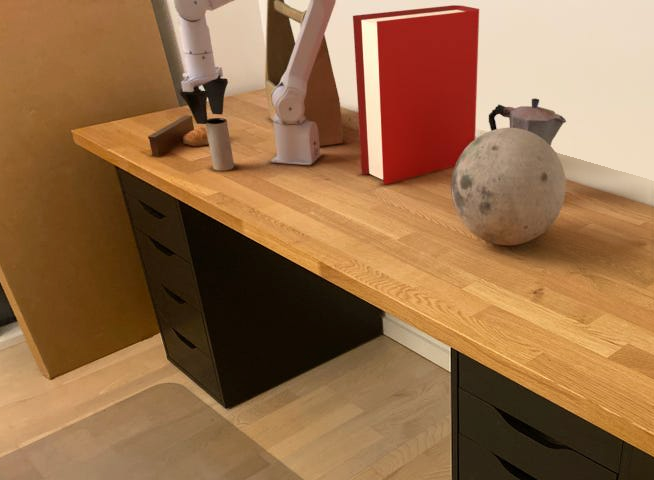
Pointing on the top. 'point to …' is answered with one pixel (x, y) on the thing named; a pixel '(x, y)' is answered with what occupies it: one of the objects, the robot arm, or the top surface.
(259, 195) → the top surface
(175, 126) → the wall shelf
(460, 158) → the moon model
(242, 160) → the top surface
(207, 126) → the planter
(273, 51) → the caddy
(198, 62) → the robot arm
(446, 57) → the book
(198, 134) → the pastry
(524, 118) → the moka pot
